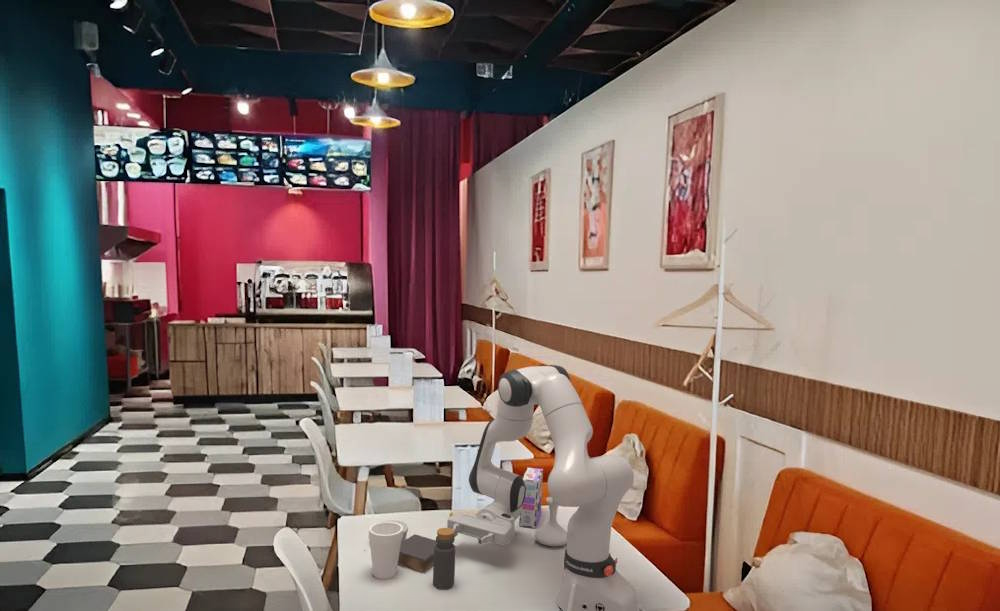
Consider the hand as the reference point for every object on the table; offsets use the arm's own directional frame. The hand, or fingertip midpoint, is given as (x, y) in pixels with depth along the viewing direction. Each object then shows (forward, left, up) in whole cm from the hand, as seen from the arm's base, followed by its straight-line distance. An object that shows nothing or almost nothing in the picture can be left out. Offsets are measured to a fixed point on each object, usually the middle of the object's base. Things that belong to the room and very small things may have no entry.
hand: (466, 537), depth 184 cm
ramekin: (+28, -1, -9) cm, 30 cm away
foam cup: (+17, +15, -9) cm, 25 cm away
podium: (+14, +3, -9) cm, 17 cm away
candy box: (-1, -42, -9) cm, 43 cm away
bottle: (0, +11, -9) cm, 14 cm away
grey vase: (-14, -31, -9) cm, 35 cm away
